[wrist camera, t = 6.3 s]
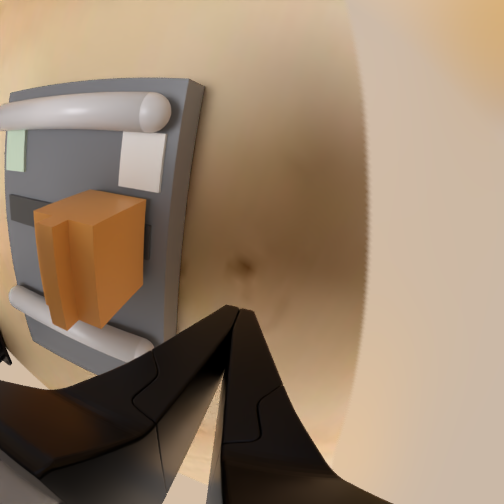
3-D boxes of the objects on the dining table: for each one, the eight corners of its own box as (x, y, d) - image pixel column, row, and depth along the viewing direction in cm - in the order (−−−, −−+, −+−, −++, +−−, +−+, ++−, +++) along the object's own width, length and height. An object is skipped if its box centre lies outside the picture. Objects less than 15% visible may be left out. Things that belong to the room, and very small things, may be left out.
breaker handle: (143, 284, 13) (90, 341, 9) (92, 268, 13) (34, 314, 9) (146, 199, 11) (76, 234, 7) (90, 189, 11) (17, 217, 7)
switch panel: (174, 381, 18) (156, 419, 15) (46, 327, 19) (21, 351, 16) (204, 86, 11) (172, 71, 8) (32, 92, 12) (-10, 93, 9)
